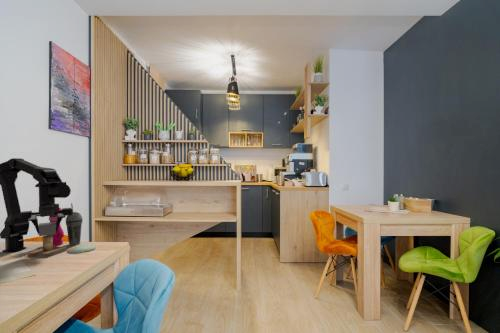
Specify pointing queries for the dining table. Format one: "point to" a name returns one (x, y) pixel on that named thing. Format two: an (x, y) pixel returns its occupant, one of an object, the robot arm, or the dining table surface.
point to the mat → (81, 249)
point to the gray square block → (47, 228)
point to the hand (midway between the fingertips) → (47, 233)
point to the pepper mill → (59, 234)
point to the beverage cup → (74, 227)
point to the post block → (47, 248)
